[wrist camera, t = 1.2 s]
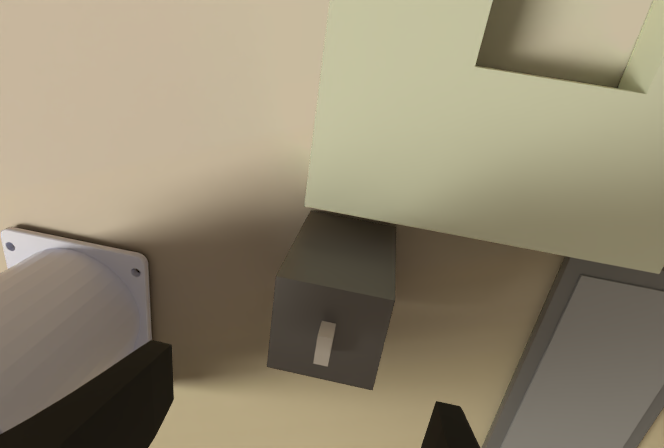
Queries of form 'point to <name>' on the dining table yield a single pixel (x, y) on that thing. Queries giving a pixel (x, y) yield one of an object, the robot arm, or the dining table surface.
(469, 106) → the outlet board
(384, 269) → the charger
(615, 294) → the phone
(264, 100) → the dining table surface
